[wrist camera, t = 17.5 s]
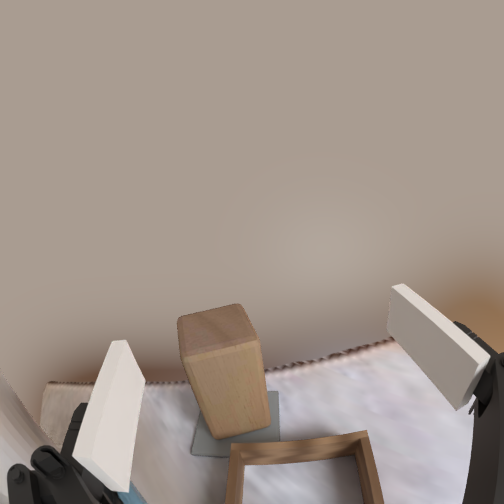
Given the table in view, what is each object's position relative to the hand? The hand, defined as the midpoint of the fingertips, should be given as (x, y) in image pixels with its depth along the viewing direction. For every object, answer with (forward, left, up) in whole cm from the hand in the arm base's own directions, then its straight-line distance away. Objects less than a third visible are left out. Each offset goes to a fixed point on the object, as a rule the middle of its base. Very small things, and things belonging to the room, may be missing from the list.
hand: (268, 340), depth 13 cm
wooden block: (-8, +20, -33) cm, 40 cm away
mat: (-8, +18, -34) cm, 39 cm away
